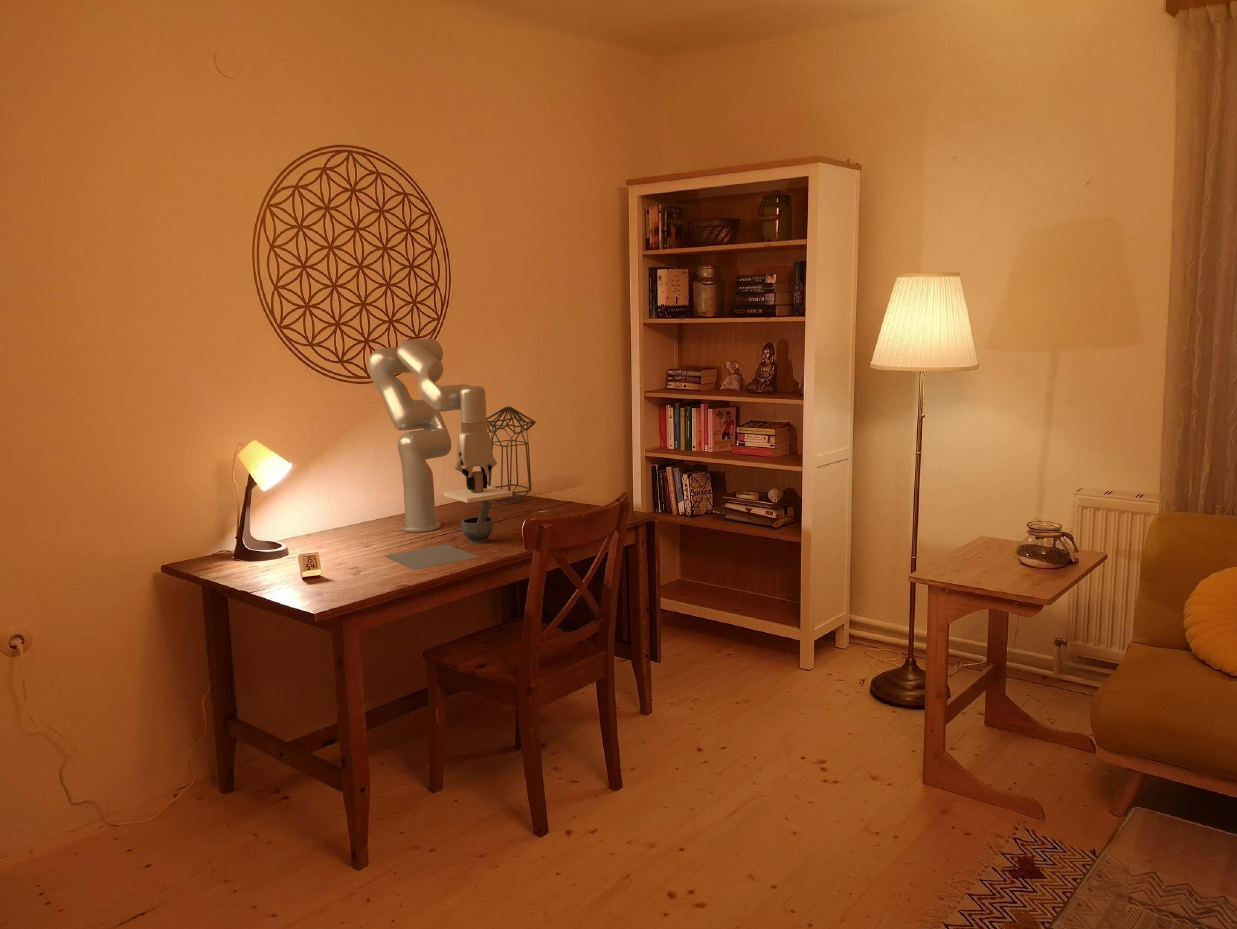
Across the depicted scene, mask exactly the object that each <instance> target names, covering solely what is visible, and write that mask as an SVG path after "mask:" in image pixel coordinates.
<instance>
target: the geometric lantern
mask: <svg viewBox="0 0 1237 929" xmlns="http://www.w3.org/2000/svg"><path fill="white" fill-rule="evenodd" d="M503 415H504V416H503ZM495 416H496V417H495ZM493 417H495V418H494V419H493V420H490V419H492V418H493ZM508 417H509V418H508ZM501 418H502V419H501ZM526 419H527V420H528V421H527V420H526ZM514 420H515V421H516V422H517V424H518V425H516V424H515V421H514ZM498 422H501V423H500V424H498ZM510 422H512V424H510ZM521 422H522V423H521ZM487 423H490V424H491V426H490V427H488V432H489V434H490V433H491V434H492V435H490V438H491V442H492V449H493V450H494V446H496V447H497V446H498V447H501V457H500V458H501V462H500V463H501V465H500V467H501V468H500V485H497V486H494V487H495V488H499V489H503V488H504V487H507V491H511V486H512V487H514V489H513V490H512V491H511V492H512V496H508V498H507V497H502V498H500V499H497V498H495V499H494V502H495V503H498V504H503V505H512V504H518V503H523V502H525V497H526V496H527V495H528V494H529V493H530V492H532V478H531V477H532V476H531V460H530V459H531V458H530V443H529V435H528V431H529V430H530V429H531V428H532V427H533V426H534V425H535V424H536V423H537V421H536V420H534V419H532V418H530V417H529V416H527V415H525V414H524V413H522V412H521V411H518V410H517V409H516V408H514V407H512V406H504V407H502V408H501V409H500V410H498V411H496V412H494V413H493V414H491V415H489V416H487ZM504 423H505V425H504ZM525 426H526V427H525ZM506 427H507V428H508V430H510V431H511V432H512V434H513V435H512V437H511V435H510V434H509V432H508V430H506ZM511 427H513V428H511ZM516 428H520V430H519V431H518V432H516ZM499 430H504V431H505V433H506V434H507V435H508V436H509V438H510V439H506V440H500V439H499V437H498V435H497V432H498V431H499ZM524 432H526V438H525V436H524ZM515 435H516V437H515V439H513V438H514V436H515ZM520 435H521V436H522V439H523V441H522V440H518V437H519V436H520ZM495 437H496V441H494V438H495ZM526 441H527V442H526ZM503 442H507V444H506V445H504V444H502V443H503ZM513 442H514V443H515V444H513ZM517 442H518V443H519V444H517ZM495 443H499V444H495ZM509 443H510V445H509ZM518 446H525V455H526V458H525V459H526V469H527V481H528V486H524V485H519V469H518V468H519V467H518V466H519V465H518ZM509 447H510V462H509V450H508V449H509ZM513 447H515V448H514V449H515V470H516V472H515V473H516V484H512V471H513V470H512V468H513V467H512V466H513V464H512V463H513ZM504 448H505V450H506V452H505V453H506V454H505V455H506V473H507V474H506V475H507V484H504V485H503V481H504V480H503V476H504V474H503V473H504V470H503V469H504V468H503V467H504ZM509 465H510V466H509ZM509 467H510V468H509ZM492 469H493V468H492ZM492 469H491V470H490V472H489V475H487V480H488V485H487V486H491V487H492V471H493V470H492ZM517 487H519V488H523V489H527V490H520V491H515V490H516V489H517ZM521 493H524V494H521ZM514 495H517V496H515V497H514ZM521 498H522V499H521ZM511 499H512V500H517V501H514V502H511ZM501 501H505V502H501Z"/></svg>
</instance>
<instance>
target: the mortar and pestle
mask: <svg viewBox="0 0 1237 929" xmlns="http://www.w3.org/2000/svg"><path fill="white" fill-rule="evenodd" d="M491 506H492V502H491V501H488V500H483V501H482V505H481V510H480V511H479V515H478V516H475V517H474V516H472V517H468V518H464V519H461V520H460V521H461V522H460V524H461V525H460V527H461V531H462V534H463V535H464V537H466V538H467V539H468V541H467V542H468V543H470V544H480V543H481V544H482V543H486V542H489V537H490V536H491V534H492V533H493V530H494V528H493V527H494V518H493V517H489V513H490V509H491V508H490V507H491Z"/></svg>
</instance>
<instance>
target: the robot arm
mask: <svg viewBox="0 0 1237 929" xmlns="http://www.w3.org/2000/svg"><path fill="white" fill-rule="evenodd" d="M443 357H444V351H443V348H442V345H441V343H439V341H437V340H436V339H433V338H412V339H411V338H410V339H406V340H404V341H402V342H401V343H400V344H398V346H395V347H394V346H391V347H382V348H378V349H376V350H374V351H373V352H372V353H371V354H370V355H369V358H368V363H367V365H368V366H367V368H368V372H369V376H370V379H371V381H372V382H373V385H374V386H375V387H376V389H377V392H378V393H379V394H380V396H381V398H382V400H383V403H384V405H385V406H384V407H385V408H386V411H387V413H388V416H389V418H390V421H391V423H392V425H393V426H394V428H395V429H396V430H398V431H405V433H403V434H402V435H401V436H400V437H399V438H398V440H397V451H398V454H399V458H400V464H401V472H402V484H403V487H402V488H403V498H404V501H403V502H404V503H403V504H404V518H405V522H404V523H402V524H401V526H400V529H401V530H402V531H404V532H410V533H420V532H421V533H422V532H423V533H424V532H429V531H435V530H438V529H440V528H441V527H442V526H441V525H442V524H441V522H440V521H437V519H436V505H435V503H436V502H435V486H434V485H435V484H434V482H435V481H434V473H433V470H432V468H431V467H430V465H429V463H428V462H427V460H430V459H437V458H443V457H445V456H448V455H449V453H450V452H451V450H452V438H451V436H450V433H449V431H448V428H447V426H446V423H445V422H444V419H443V416H442V414H441V412H449V411H460V426H461V428H460V429H461V433H458V438H457V447H456V448H457V449H456V451H457V452H456V464H455V466H454V469H455V470H456V471H458V472H461V474H463V476H464V477H465V483H466V484H465V485H466V489H467V488H468V490H471V491H473V490H475V488H474V477H472V472H473V469H474V468H475V467H479V471H482V472H483V487H484V489H487V486H488V475H489V472H490V470H491V469H493V468H495V466H497V465H498V462H497V461H496V459H495V457H494V448H493V449H492V442H491V434H490V433H489V429H488V427H489V428H491V427H492V426H491V424H490V423H491V422H490V423H487V421H488V420H487V418H488V416H487V400H486V389H485V388H484V387H483V386H479V385H473V386H472V385H470V384H452V385H451V384H450V385H438V384H436V383H437V382H438V381H439V380H440V379H441V377H442V375H443V373H444V365H443V364H442V362H441V361H442V360H443ZM406 373H411V374H413V375H414V376H415V377H416V378H417V379H418V381H417V382H418V384H417V387H418V392H419V394H420V397H421V399H413V398H412V396H411V394H410V392H409V390H408V387H407V386H406V385H405V383H403V381H402V380H400V379H399V378H398V377H397V376H395V375H394V374H406ZM406 431H408V432H406Z"/></svg>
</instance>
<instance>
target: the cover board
mask: <svg viewBox="0 0 1237 929" xmlns="http://www.w3.org/2000/svg"><path fill="white" fill-rule="evenodd" d="M472 477H474V488H475V490H473V491H471V490H468V488H467V487H466V488H462V489H455V490H454V489H453V490H446V491H443V496H444V497H446V498H450V499H453V500H456V501H460V502H464V503H467V504H470V503H475V502H481V501H482V502H483V501H488V500H495V498H496V499H502V497H503V498H504V497H506V498H507V497H508V496H510V497H512V492H513V491H512V490H510V491H508V489H507V490H506V489H503V488H502V489H501V488H500V487H499V488H495V487H496V486H492V485H491V486H488V485H487V489H484V487H483V472H482V471H481V470H475V471H472Z"/></svg>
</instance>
